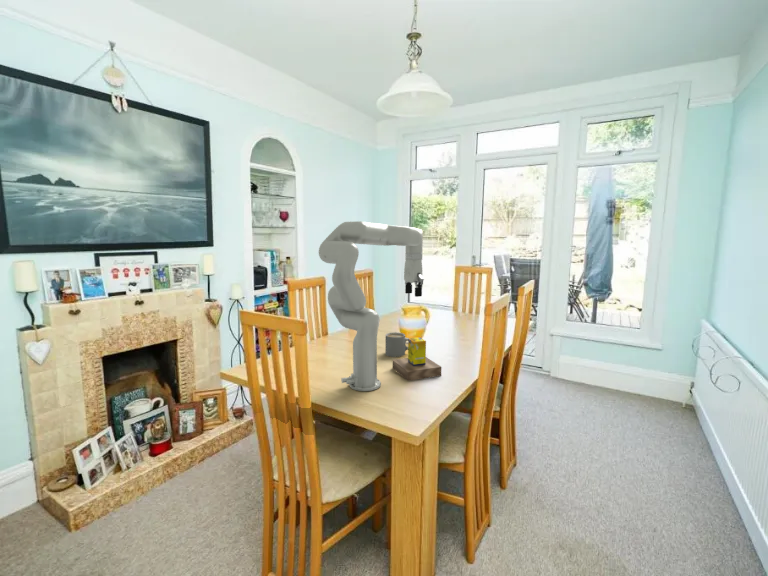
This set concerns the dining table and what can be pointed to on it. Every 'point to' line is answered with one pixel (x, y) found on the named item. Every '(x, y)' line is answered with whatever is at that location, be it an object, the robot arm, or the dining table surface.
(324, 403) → the dining table surface
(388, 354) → the coffee mug
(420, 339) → the supplement box
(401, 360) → the walnut base
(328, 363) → the dining table surface
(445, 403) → the dining table surface
